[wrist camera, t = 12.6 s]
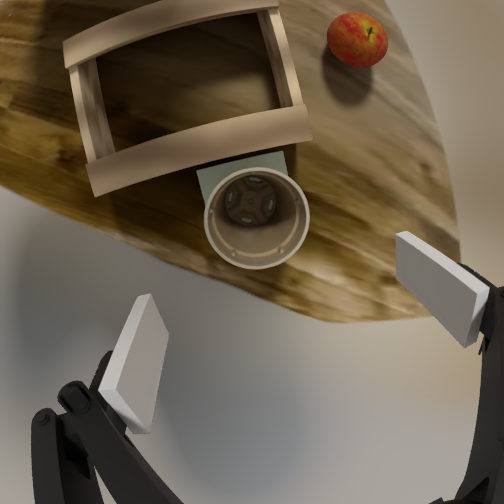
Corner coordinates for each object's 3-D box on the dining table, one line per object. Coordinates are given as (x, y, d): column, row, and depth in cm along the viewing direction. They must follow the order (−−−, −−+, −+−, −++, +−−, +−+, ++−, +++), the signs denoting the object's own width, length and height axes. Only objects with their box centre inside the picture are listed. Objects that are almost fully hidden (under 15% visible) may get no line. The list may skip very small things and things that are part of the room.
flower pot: (219, 246, 36) (218, 279, 28) (200, 170, 32) (192, 181, 24) (295, 230, 36) (315, 257, 28) (282, 153, 32) (300, 158, 24)
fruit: (374, 36, 28) (406, 19, 21) (366, 79, 30) (399, 69, 23) (324, 16, 27) (348, -9, 19) (314, 60, 29) (338, 42, 22)
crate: (87, 54, 26) (62, 41, 20) (262, 4, 26) (270, -20, 20) (116, 185, 33) (94, 197, 26) (296, 139, 33) (313, 139, 26)
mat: (197, 170, 33) (196, 170, 32) (281, 150, 33) (283, 150, 32) (218, 249, 37) (218, 251, 36) (297, 230, 37) (298, 232, 36)
